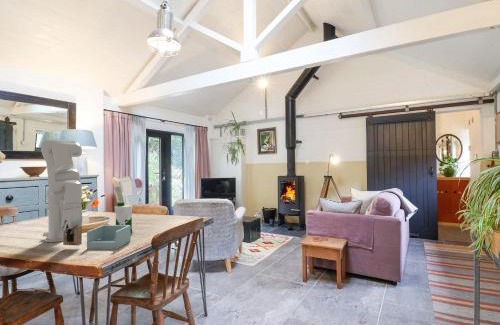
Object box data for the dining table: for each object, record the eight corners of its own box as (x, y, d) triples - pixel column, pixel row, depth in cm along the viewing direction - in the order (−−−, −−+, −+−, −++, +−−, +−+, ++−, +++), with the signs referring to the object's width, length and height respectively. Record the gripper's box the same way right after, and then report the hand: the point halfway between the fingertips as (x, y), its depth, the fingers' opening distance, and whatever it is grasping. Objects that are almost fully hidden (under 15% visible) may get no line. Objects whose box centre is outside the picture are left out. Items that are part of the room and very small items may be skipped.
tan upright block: (63, 245, 139) (63, 225, 139) (66, 243, 142) (66, 224, 142) (78, 245, 139) (78, 226, 139) (81, 244, 142) (81, 225, 142)
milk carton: (122, 232, 175) (122, 201, 175) (134, 232, 173) (134, 201, 173) (112, 235, 166) (112, 203, 166) (125, 236, 164) (125, 203, 165)
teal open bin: (86, 248, 140) (86, 231, 140) (103, 240, 155) (103, 225, 155) (117, 248, 140) (117, 231, 140) (130, 240, 155) (130, 225, 155)
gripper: (76, 202, 148) (75, 235, 149) (54, 208, 132) (53, 245, 133) (89, 203, 148) (89, 236, 149) (69, 208, 132) (68, 245, 132)
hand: (72, 240), depth 141 cm, fingers closed on tan upright block, 2 cm apart
